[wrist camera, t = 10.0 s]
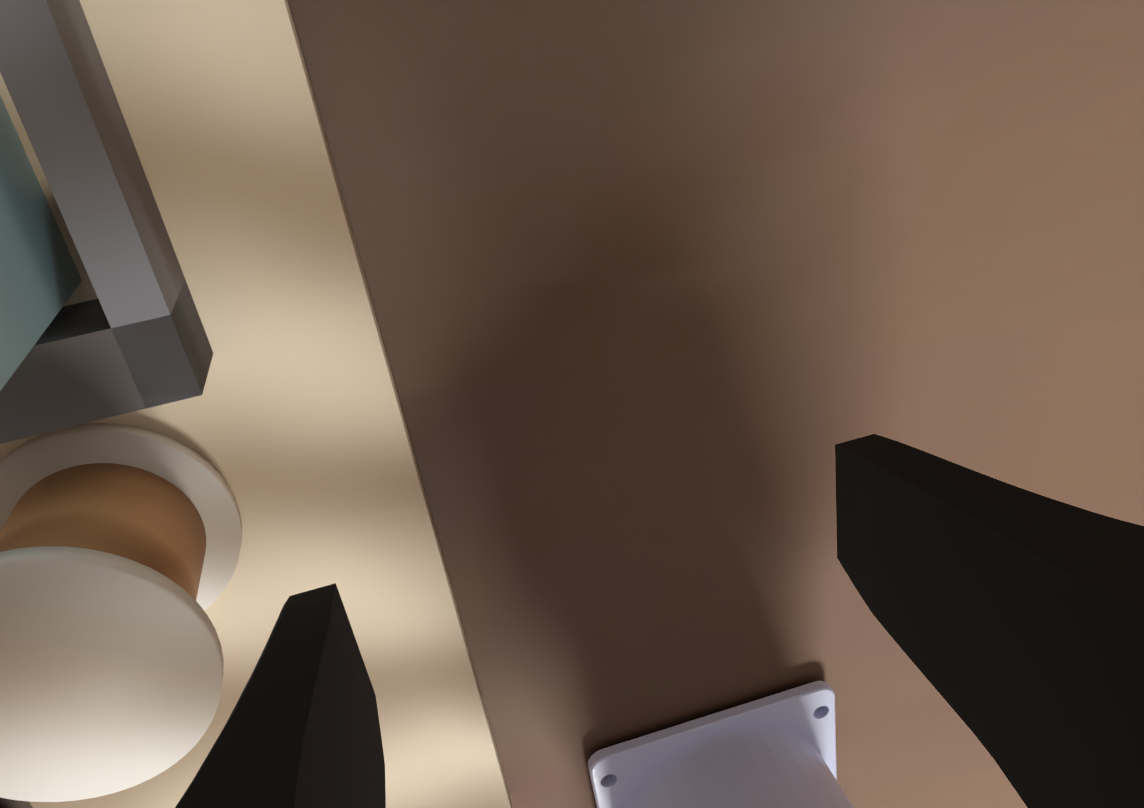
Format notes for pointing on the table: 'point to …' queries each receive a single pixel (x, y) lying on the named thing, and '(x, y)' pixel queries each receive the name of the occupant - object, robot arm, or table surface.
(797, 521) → the table surface
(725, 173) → the table surface
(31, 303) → the pale blue block
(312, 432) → the winding board
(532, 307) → the table surface
